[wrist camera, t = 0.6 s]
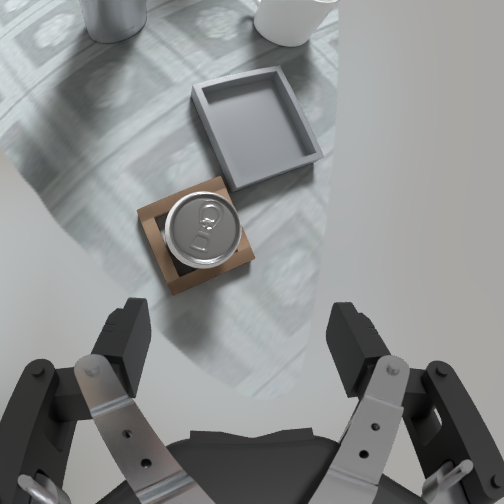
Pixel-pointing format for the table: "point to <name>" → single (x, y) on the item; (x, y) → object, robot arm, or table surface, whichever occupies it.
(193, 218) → the can
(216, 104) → the grey shallow rectangular tray
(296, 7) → the mug
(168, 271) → the walnut collar
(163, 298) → the table surface
